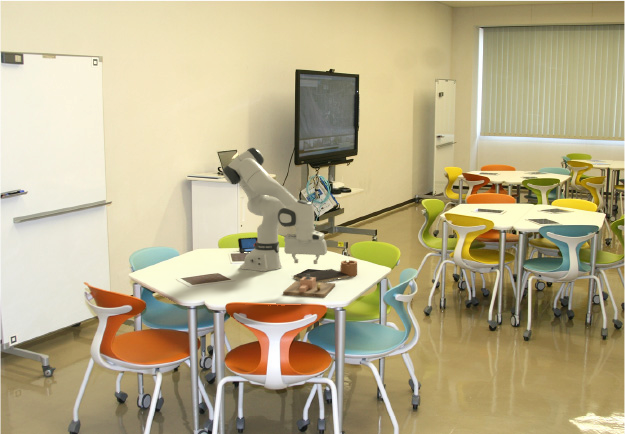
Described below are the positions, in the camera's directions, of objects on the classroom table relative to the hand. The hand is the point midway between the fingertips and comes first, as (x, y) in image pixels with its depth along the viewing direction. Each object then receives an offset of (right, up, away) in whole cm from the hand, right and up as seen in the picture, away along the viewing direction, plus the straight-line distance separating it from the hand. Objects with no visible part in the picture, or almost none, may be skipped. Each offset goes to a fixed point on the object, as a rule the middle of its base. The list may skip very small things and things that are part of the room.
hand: (305, 263), depth 334 cm
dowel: (+6, -12, -3) cm, 14 cm away
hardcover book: (+7, -10, +25) cm, 28 cm away
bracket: (+22, -8, +35) cm, 42 cm away
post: (+1, -11, +3) cm, 12 cm away
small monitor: (-35, +1, +93) cm, 99 cm away
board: (+2, -13, +2) cm, 13 cm away
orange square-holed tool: (0, -12, -1) cm, 12 cm away
